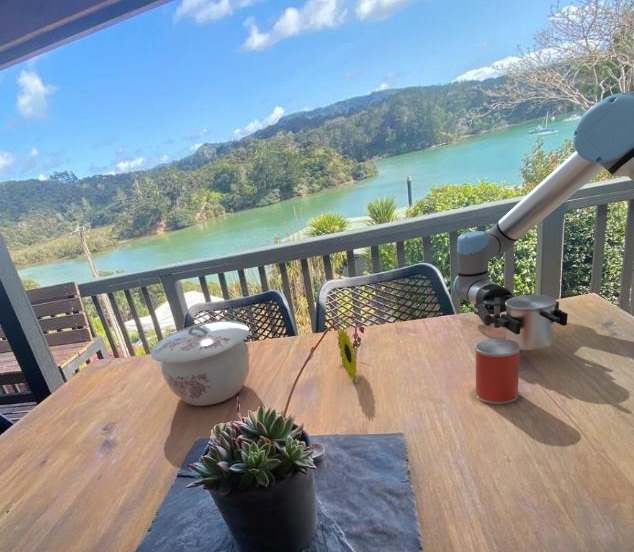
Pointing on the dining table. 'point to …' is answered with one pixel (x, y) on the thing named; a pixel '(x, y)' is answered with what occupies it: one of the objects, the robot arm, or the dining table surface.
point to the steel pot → (532, 320)
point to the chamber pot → (205, 361)
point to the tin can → (497, 371)
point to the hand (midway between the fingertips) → (541, 324)
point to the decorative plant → (347, 353)
